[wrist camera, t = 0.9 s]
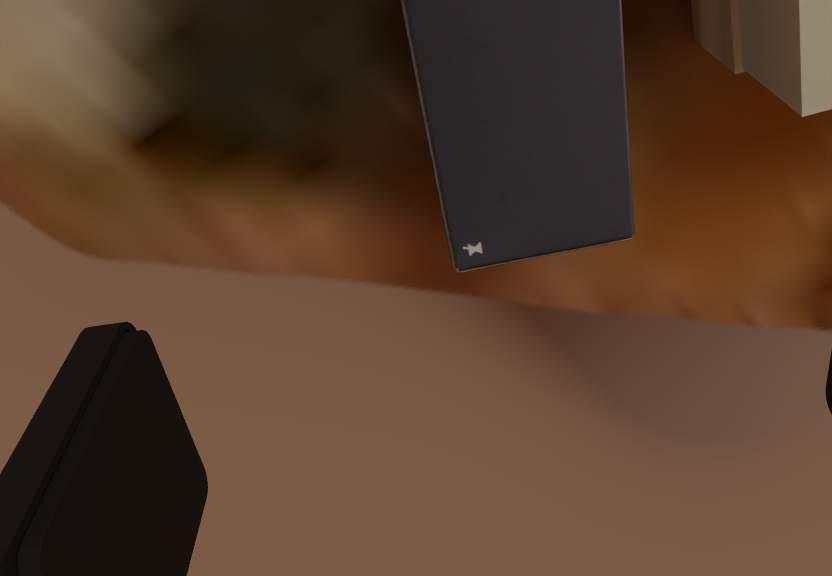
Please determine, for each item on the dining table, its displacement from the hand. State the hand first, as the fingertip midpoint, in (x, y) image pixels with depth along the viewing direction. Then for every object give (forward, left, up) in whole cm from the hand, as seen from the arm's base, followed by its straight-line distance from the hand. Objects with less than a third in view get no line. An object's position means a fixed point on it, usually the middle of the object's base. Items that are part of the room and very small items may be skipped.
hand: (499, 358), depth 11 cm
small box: (-2, +2, -24) cm, 25 cm away
